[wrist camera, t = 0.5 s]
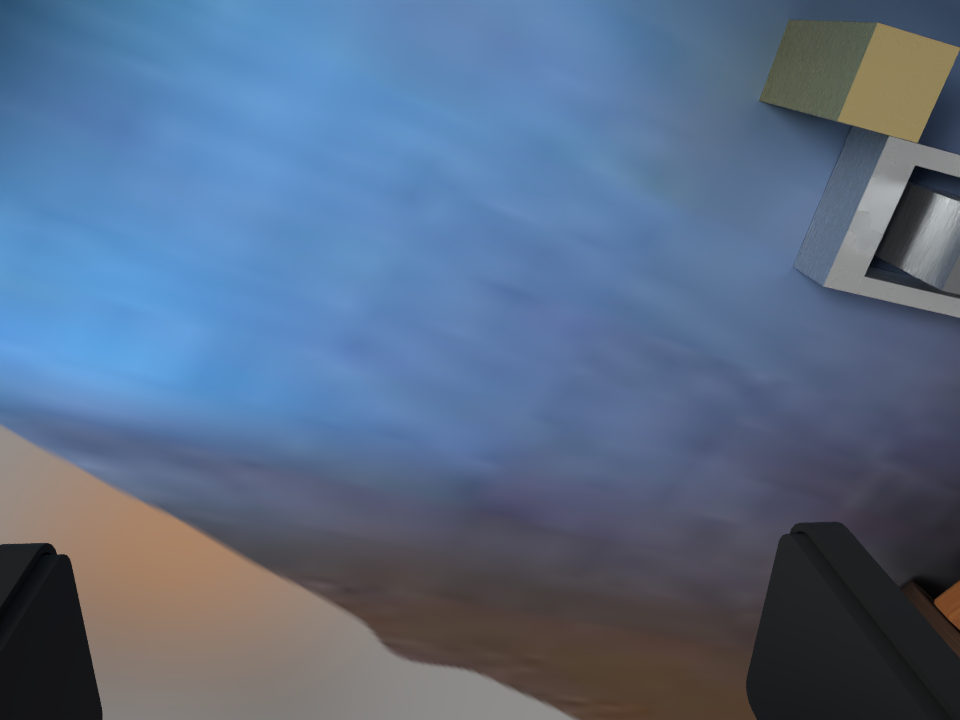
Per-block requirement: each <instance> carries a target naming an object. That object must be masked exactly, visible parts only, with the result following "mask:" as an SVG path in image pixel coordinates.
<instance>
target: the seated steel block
mask: <svg viewBox="0 0 960 720" xmlns="http://www.w3.org/2000/svg"><path fill="white" fill-rule="evenodd" d="M874 255H875V256H877V257H879V258H880V259H882V260H884V261H886V262H888V263H890V264H892V265H894V266H896V267H898V268H900V269H901V270H903V271H905V272H907V273H909V274H911V275H913V276H915V277H917V278H919V279H921V280H923V281H924V282H926V283H928V284H930V285H932V286H934V287H936V288H938V289H940V290H942V291H946V292H950V293H955V294H959V295H960V196H957V195H954V194H951V193H948V192H945V191H941V190H937V189H933V188H930V187H926V186H922V185H918V184H914V183H911V182H907V184H906V186H905V188H904V191H903V193H902V195H901V197H900V199H899V201H898V204H897V206H896V208H895V210H894V212H893V215H892V217H891V219H890V221H889V223H888V225H887V228H886V230H885V232H884V234H883V236H882V239H881V241H880V243H879V245H878V247H877V250H876V252H875V254H874Z"/></svg>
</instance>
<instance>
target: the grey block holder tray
mask: <svg viewBox="0 0 960 720" xmlns="http://www.w3.org/2000/svg"><path fill="white" fill-rule="evenodd" d="M915 165H916V166H920V167H923V168H927V169H931V170H934V171H938V172H942V173H946V174H949V175H953V176H957V177H960V155H957V154H953V153H950V152H946V151H942V150H939V149H935V148H931V147H928V146H924V145H920V144H917V143H913V142H910V141H906V140H902V139H899V138H895V137H891V136H888V135H884V134H880V133H876V132H872V131H869V130H865V129H861V128H857V127H854V126H852V127H851V130H850V132H849V134H848V137H847V139H846V142H845V144H844V146H843V149H842V151H841V154H840V156H839V158H838V161H837V163H836V165H835V168H834V170H833V173H832V175H831V177H830V180H829V182H828V185H827V187H826V189H825V192H824V194H823V196H822V199H821V201H820V204H819V206H818V208H817V211H816V213H815V216H814V218H813V220H812V223H811V225H810V227H809V230H808V232H807V235H806V237H805V239H804V242H803V244H802V247H801V249H800V251H799V254H798V256H797V258H796V261H795V263H794V266H793V267H794V268H796V269H797V270H799V271H800V272H802V273H804V274H805V275H807V276H808V277H810V278H811V279H813V280H814V281H816V282H817V283H819V284H820V285H822V286H823V287H828V288H832V289H837V290H841V291H845V292H850V293H854V294H858V295H863V296H867V297H872V298H876V299H880V300H885V301H889V302H893V303H898V304H902V305H907V306H911V307H915V308H920V309H924V310H928V311H933V312H937V313H942V314H946V315H950V316H955V317H959V318H960V295H959V294H955V293H950V292H946V291H942V290H940V289H938V288H936V287H934V286H932V285H930V284H928V283H926V282H924V281H923V280H921V279H919V278H916V277H911V276H907V275H903V274H899V273H895V272H890V271H886V270H882V269H878V268H874V267H869V265H870V263H871V260H872V258H873V256H874V254H875V252H876V250H877V247H878V245H879V243H880V241H881V239H882V236H883V234H884V232H885V230H886V228H887V225H888V223H889V221H890V219H891V217H892V215H893V212H894V210H895V208H896V206H897V204H898V201H899V199H900V197H901V195H902V193H903V191H904V188H905V186H906V184H907V182H908V180H909V177H910V175H911V173H912V171H913V169H914V167H915Z"/></svg>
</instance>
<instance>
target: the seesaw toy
mask: <svg viewBox="0 0 960 720" xmlns="http://www.w3.org/2000/svg"><path fill="white" fill-rule="evenodd" d="M901 591H902V592H903V593H904V594H905V596H906V597H907V598H908V599H909V600H910V601H911V602H912V604H913V605H914V606H915V607H916V608H917V609H918V611H919V612H920V613H921V614H922V615H923V616H924V617H925V619H926V620H927V621H928V622H929V623H930V624H931V625H932V627H933V628H934V629H935V630H936V631H937V632H938V634H939V635H940V636H941V637H942V638H943V639H944V640H945V642H946V643H947V644H948V645H949V646H950V647H951V649H952V650H953V651H954V652H955V653H956V654H957V655H958V657H959V658H960V580H959V581H958V582H956V583H955V584H954V585H953V586H951V587H950V588H949V589H947V590H946V591H945V592H943V593H942V594H941V595H940V596H938V597H937V598H936V599H935V600H934V599H933V598H932V597H931V596H930V595H929V594H928V593H927V592H925V591H924V590H923V589H922V588H921V587H920V586H919V585H918V584H916V583H915V582H913V581H911V582H910V583H908V584H907V585H906V586H905V587H903V588H902V589H901Z"/></svg>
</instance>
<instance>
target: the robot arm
mask: <svg viewBox="0 0 960 720" xmlns="http://www.w3.org/2000/svg"><path fill="white" fill-rule="evenodd" d="M746 690H747V696H748V700H749V704H750V706H751V708H752V711H753V713H754V714H755V716H756V718H757V720H960V658H959V657H958V655H957V654H956V653H955V652H954V651H953V650H952V649H951V647H950V646H949V645H948V644H947V643H946V642H945V640H944V639H943V638H942V637H941V636H940V635H939V634H938V632H937V631H936V630H935V629H934V628H933V627H932V625H931V624H930V623H929V622H928V621H927V620H926V619H925V617H924V616H923V615H922V614H921V613H920V612H919V611H918V609H917V608H916V607H915V606H914V605H913V604H912V602H911V601H910V600H909V599H908V598H907V597H906V596H905V594H904V593H903V592H902V591H901V590H900V589H899V587H898V586H897V585H896V584H895V583H894V582H893V581H892V579H891V578H890V577H889V576H888V575H887V574H886V572H885V571H884V570H883V569H882V568H881V567H880V566H879V564H878V563H877V562H876V561H875V560H874V559H873V557H872V556H871V555H870V554H869V553H868V552H867V551H866V549H865V548H864V547H863V546H862V545H861V544H860V542H859V541H858V540H857V539H856V538H855V537H854V536H853V534H852V533H851V532H850V531H849V530H848V529H847V528H846V527H845V526H844V525H843V524H842V523H838V522H816V523H798V524H795V525H794V527H793V528H792V529H791V532H790V534H785V535H783V536H782V537H781V538H780V541H779V544H778V548H777V552H776V556H775V560H774V565H773V569H772V573H771V577H770V582H769V586H768V590H767V594H766V599H765V603H764V607H763V611H762V616H761V620H760V624H759V628H758V633H757V637H756V641H755V645H754V650H753V654H752V658H751V662H750V666H749V671H748V675H747V681H746ZM0 720H102V707H101V702H100V697H99V693H98V688H97V683H96V678H95V674H94V669H93V665H92V659H91V655H90V651H89V645H88V640H87V636H86V631H85V626H84V621H83V617H82V612H81V607H80V603H79V598H78V593H77V588H76V583H75V579H74V574H73V569H72V565H71V561H70V559H69V558H68V556H67V555H64V554H60V555H57V553H56V550H55V549H54V547H53V546H52V545H51V544H49V543H31V544H2V545H0Z"/></svg>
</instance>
